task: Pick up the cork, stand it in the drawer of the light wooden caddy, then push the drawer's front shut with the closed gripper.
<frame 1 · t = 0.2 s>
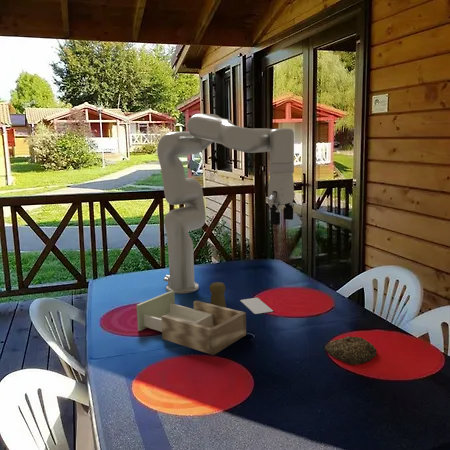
hand: (281, 221, 153), 31 cm above the table, tool pointing down, fingers open, 9 cm apart
drawer: (177, 315, 146), point 4 cm above the table, slide at 9.0 cm
cork: (218, 315, 158), on the table
smartphone: (256, 307, 165), on the table
caddy: (204, 336, 141), on the table
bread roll: (352, 354, 129), on the table
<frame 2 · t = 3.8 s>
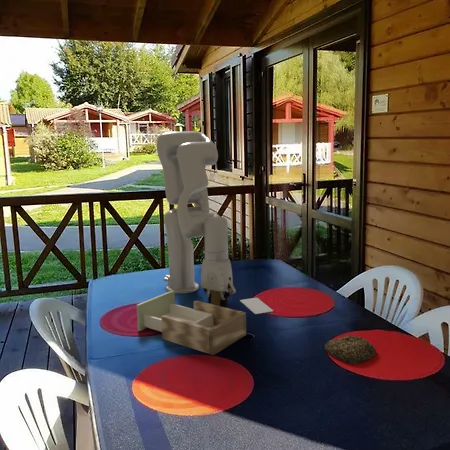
hand: (218, 308, 157), 2 cm above the table, tool pointing down, fingers closed on cork, 4 cm apart
cork: (218, 315, 158), on the table, touching gripper
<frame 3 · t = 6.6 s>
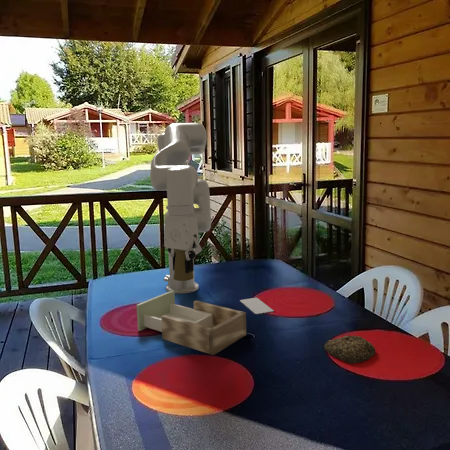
hand: (183, 270, 142), 19 cm above the table, tool pointing down, fingers closed on cork, 4 cm apart
cork: (183, 278, 142), point 17 cm above the table, touching gripper
everything else where it was.
when the fingers open (5 cm above the table, at t = 9.5 s): cork drops 1 cm, resting on drawer.
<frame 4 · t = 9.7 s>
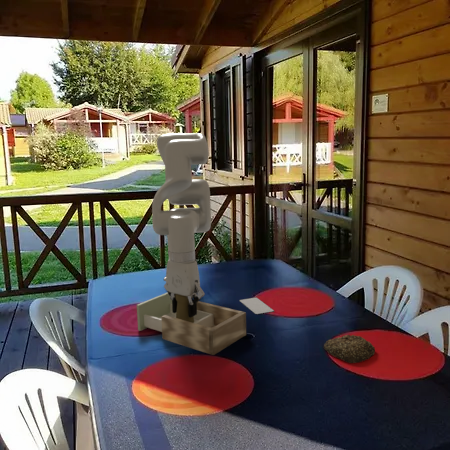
hand: (184, 313, 144), 6 cm above the table, tool pointing down, fingers open, 5 cm apart
drawer: (177, 315, 146), point 4 cm above the table, slide at 8.9 cm, touching cork
cork: (185, 325, 145), point 2 cm above the table, touching drawer
everything else where it was.
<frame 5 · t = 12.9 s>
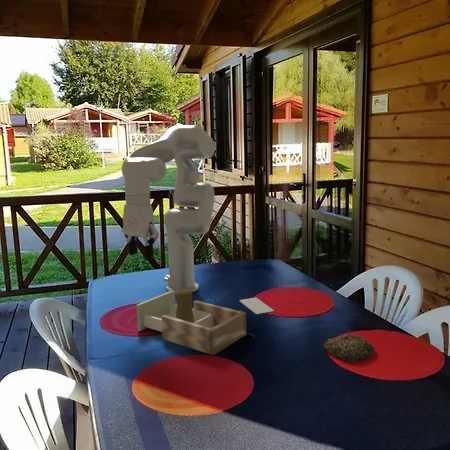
hand: (141, 255, 151), 22 cm above the table, tool pointing down, fingers open, 6 cm apart
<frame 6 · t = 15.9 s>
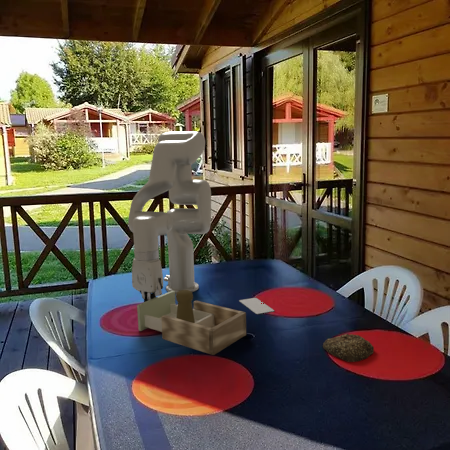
hand: (149, 310, 153), 4 cm above the table, tool pointing down, fingers closed
drawer: (178, 315, 146), point 4 cm above the table, slide at 8.7 cm, touching gripper, cork
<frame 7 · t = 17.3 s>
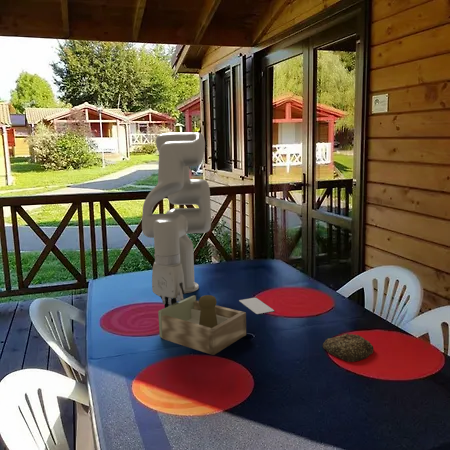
hand: (170, 315, 148), 4 cm above the table, tool pointing down, fingers closed
drawer: (200, 321, 141), point 4 cm above the table, slide at -0.2 cm, touching gripper, cork
cork: (208, 332, 140), point 2 cm above the table, touching drawer
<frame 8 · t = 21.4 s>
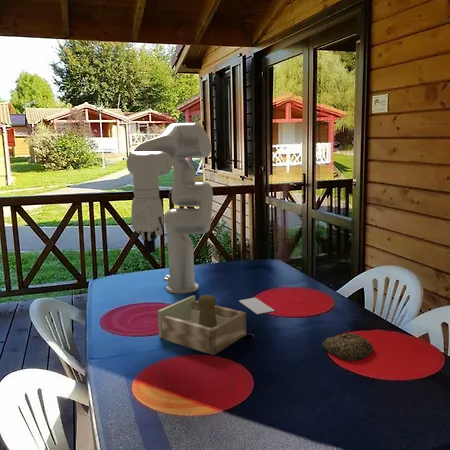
hand: (149, 252, 149), 23 cm above the table, tool pointing down, fingers closed
drawer: (200, 321, 141), point 4 cm above the table, slide at 0.0 cm, touching cork
at the end: drawer slide at 0.0 cm; cork inside the target area on the caddy (1.2 cm from its centre), point 1.6 cm above the caddy's base; cork tilted 0° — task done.
